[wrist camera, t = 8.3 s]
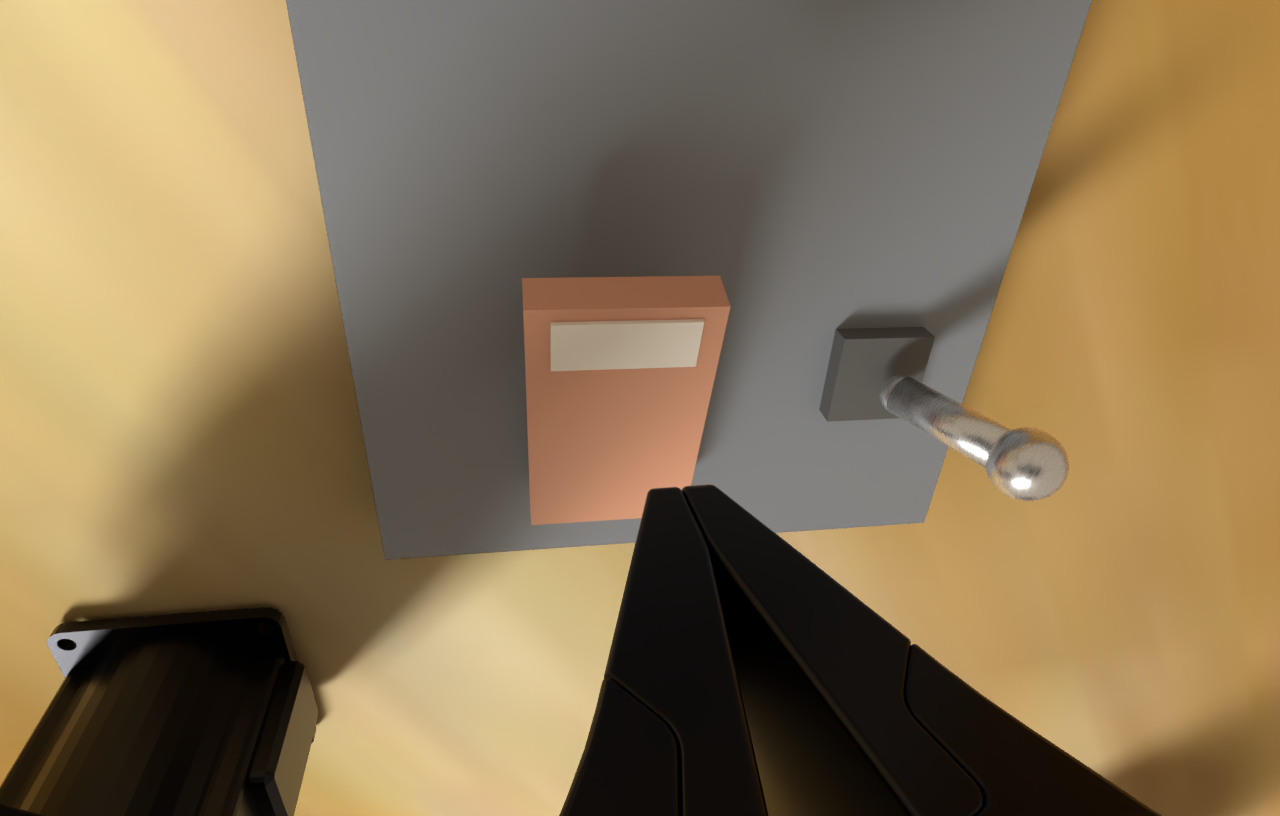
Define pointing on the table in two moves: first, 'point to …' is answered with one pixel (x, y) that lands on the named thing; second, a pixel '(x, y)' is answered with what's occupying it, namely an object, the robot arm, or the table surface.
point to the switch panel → (672, 227)
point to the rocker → (616, 389)
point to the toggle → (982, 439)
